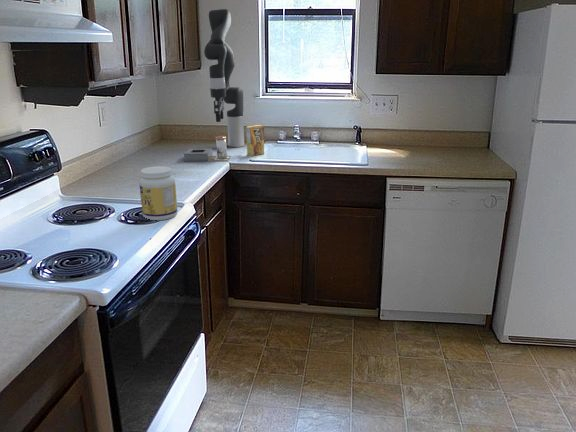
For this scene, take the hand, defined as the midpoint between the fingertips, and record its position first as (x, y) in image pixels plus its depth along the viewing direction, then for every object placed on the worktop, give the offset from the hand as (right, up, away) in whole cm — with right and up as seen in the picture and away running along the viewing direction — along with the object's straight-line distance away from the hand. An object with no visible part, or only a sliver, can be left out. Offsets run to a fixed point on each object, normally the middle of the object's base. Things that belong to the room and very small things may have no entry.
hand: (219, 120), depth 260 cm
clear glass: (0, -18, +6) cm, 19 cm away
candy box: (+17, -15, +20) cm, 30 cm away
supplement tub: (-11, -48, -75) cm, 90 cm away
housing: (-12, -18, +7) cm, 23 cm away
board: (-7, -19, +7) cm, 22 cm away
